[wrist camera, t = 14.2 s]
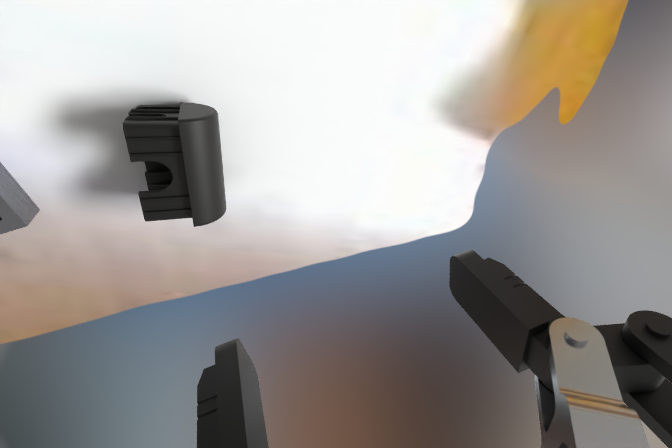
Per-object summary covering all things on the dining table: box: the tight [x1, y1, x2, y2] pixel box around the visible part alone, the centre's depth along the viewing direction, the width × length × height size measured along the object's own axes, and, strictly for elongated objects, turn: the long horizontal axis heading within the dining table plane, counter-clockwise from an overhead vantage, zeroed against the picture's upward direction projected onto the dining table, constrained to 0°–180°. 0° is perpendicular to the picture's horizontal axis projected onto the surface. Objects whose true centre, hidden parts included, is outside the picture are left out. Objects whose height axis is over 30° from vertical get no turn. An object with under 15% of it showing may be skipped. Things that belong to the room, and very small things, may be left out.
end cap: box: [123, 103, 226, 227], centre depth 32 cm, size 10×7×7 cm
